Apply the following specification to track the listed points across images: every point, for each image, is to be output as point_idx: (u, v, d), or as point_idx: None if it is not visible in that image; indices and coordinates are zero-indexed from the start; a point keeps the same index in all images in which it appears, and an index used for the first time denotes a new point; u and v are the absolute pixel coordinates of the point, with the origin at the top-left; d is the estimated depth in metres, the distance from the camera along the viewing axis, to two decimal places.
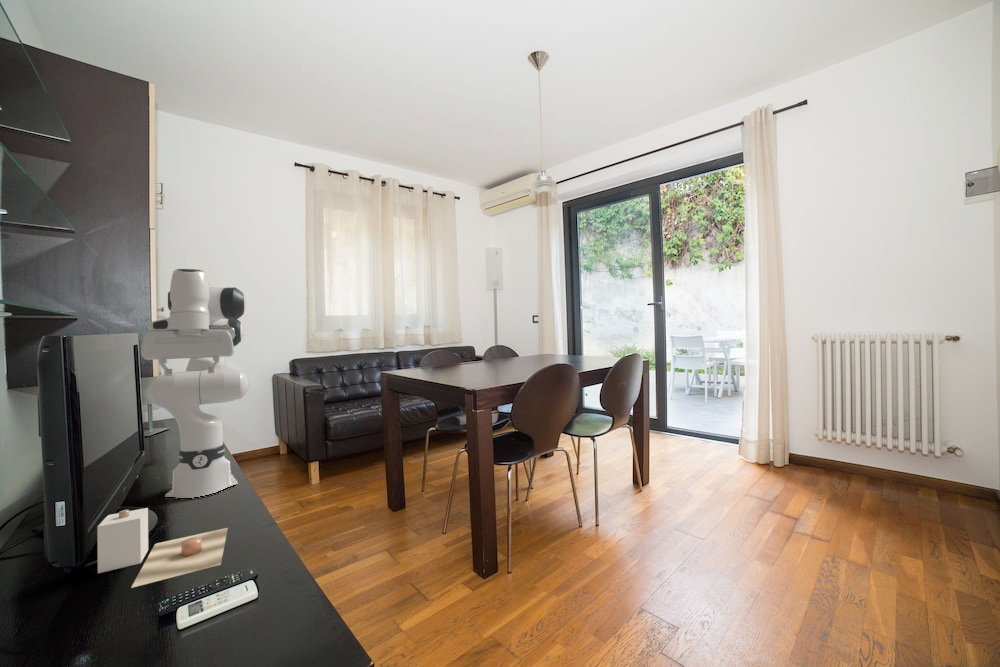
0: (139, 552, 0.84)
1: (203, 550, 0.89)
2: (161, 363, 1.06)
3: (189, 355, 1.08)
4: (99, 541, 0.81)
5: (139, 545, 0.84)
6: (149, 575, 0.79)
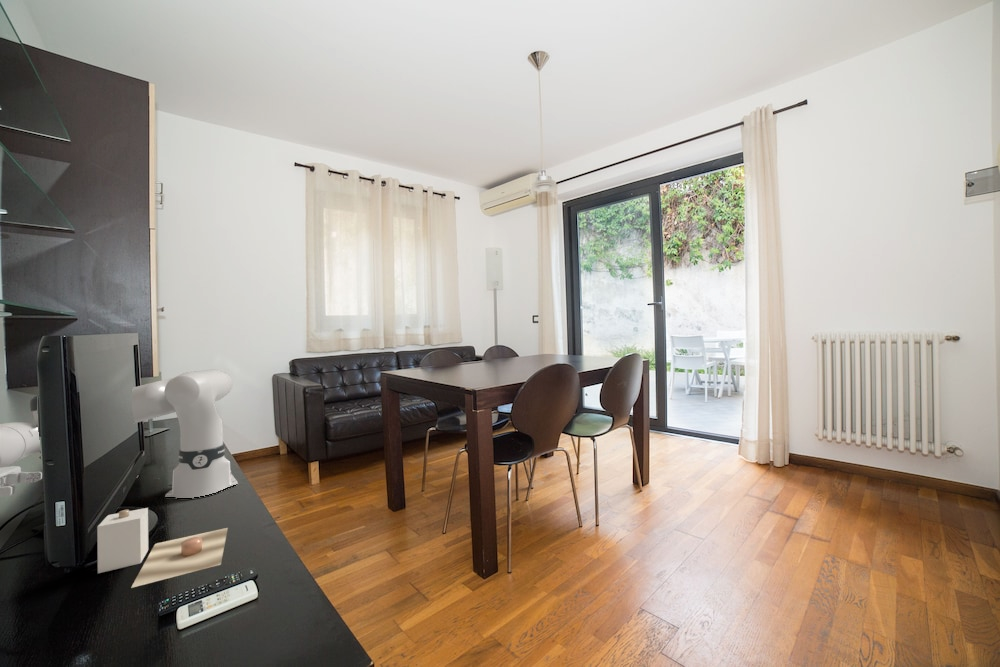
0: (139, 552, 0.84)
1: (203, 550, 0.89)
2: None
3: None
4: (99, 541, 0.81)
5: (139, 545, 0.84)
6: (149, 575, 0.79)
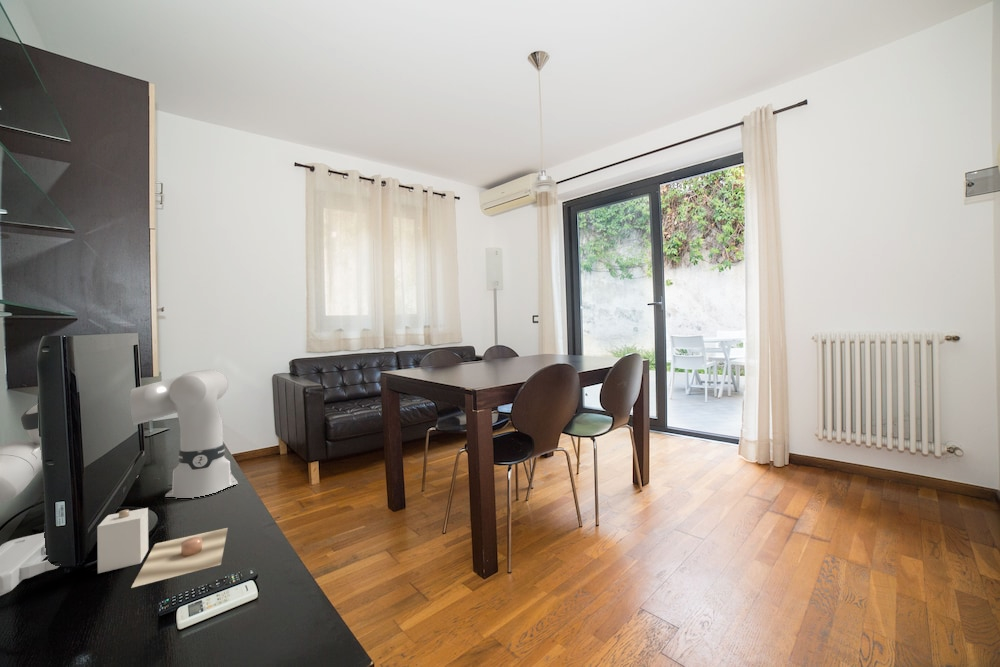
0: (139, 552, 0.84)
1: (203, 550, 0.89)
2: (32, 564, 0.74)
3: (33, 549, 0.78)
4: (99, 541, 0.81)
5: (139, 545, 0.84)
6: (149, 575, 0.79)
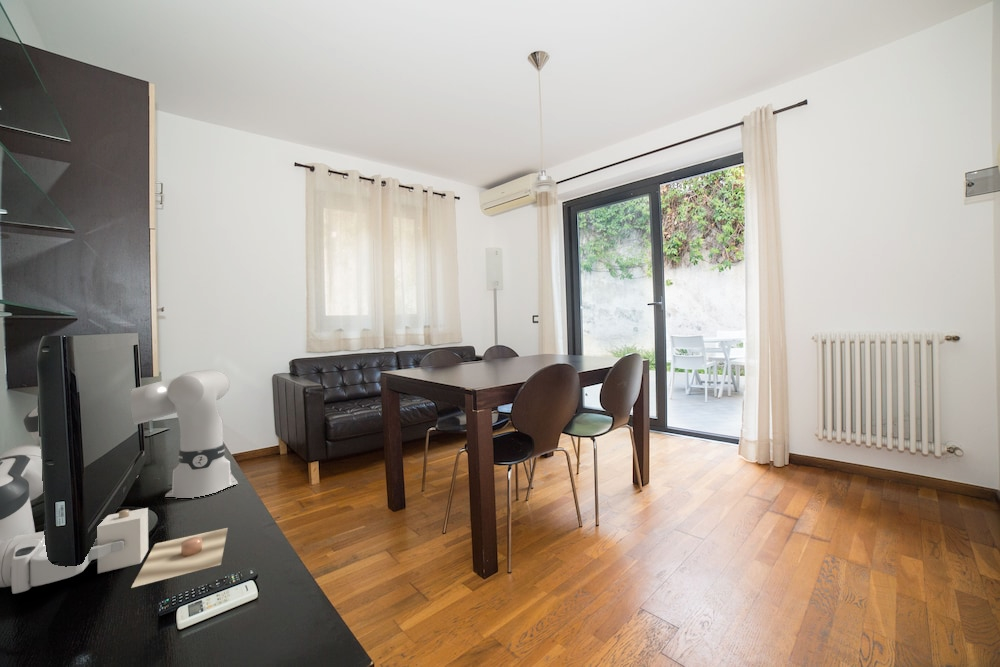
0: (139, 552, 0.84)
1: (203, 550, 0.89)
2: (100, 546, 0.80)
3: None
4: (99, 541, 0.81)
5: (139, 545, 0.84)
6: (149, 575, 0.79)
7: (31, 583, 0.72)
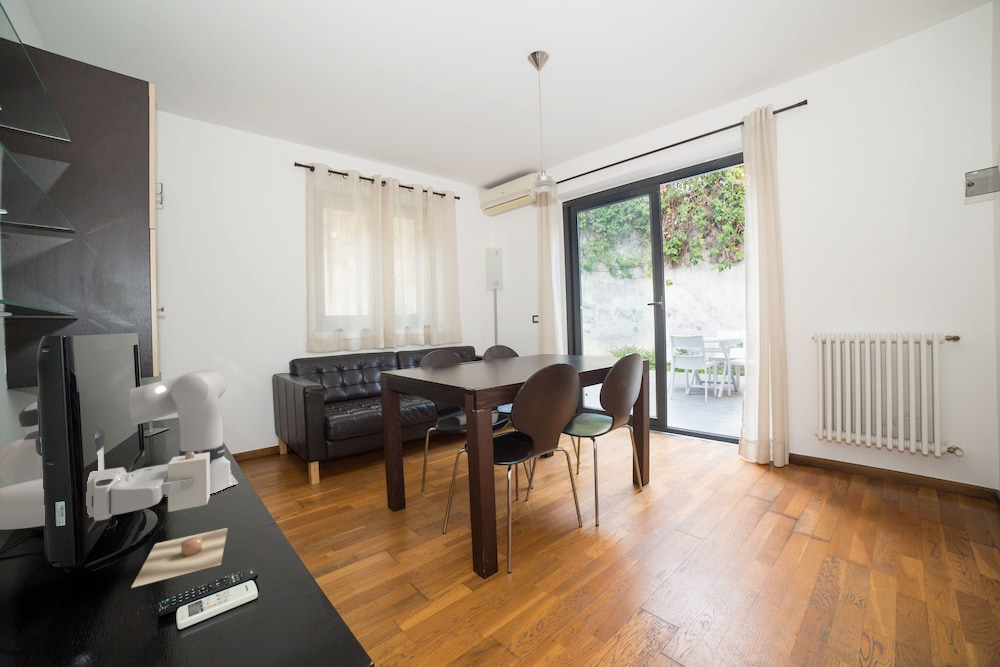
0: (205, 491, 0.87)
1: (203, 550, 0.89)
2: (171, 482, 0.82)
3: (165, 473, 0.86)
4: (169, 478, 0.84)
5: (205, 484, 0.87)
6: (149, 575, 0.79)
7: (112, 511, 0.75)
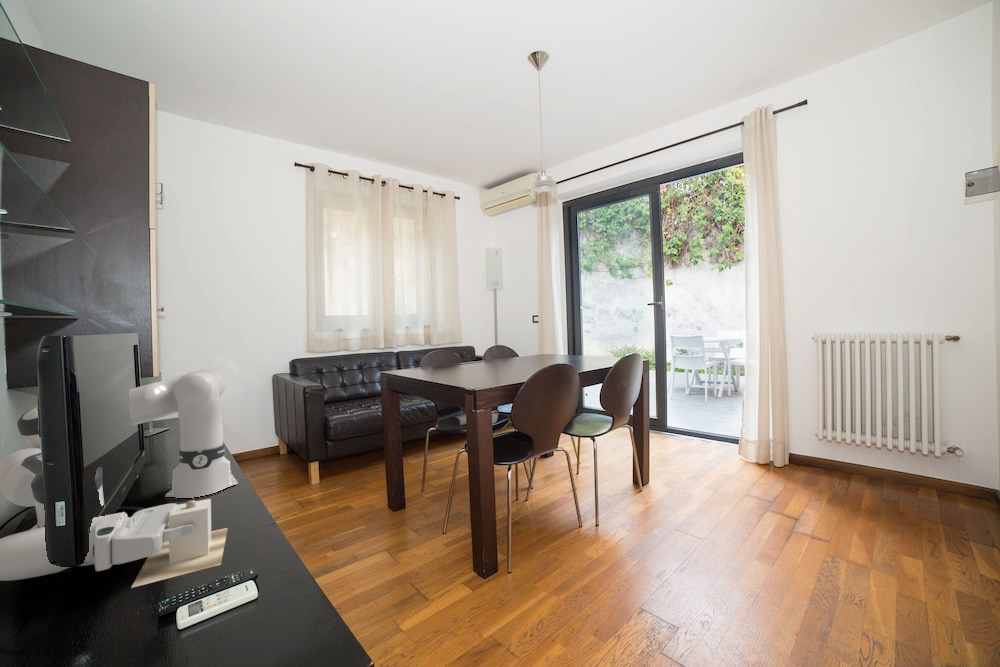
0: (206, 541, 0.87)
1: None
2: (172, 529, 0.82)
3: (166, 517, 0.86)
4: None
5: (206, 534, 0.87)
6: (149, 575, 0.79)
7: (113, 561, 0.75)
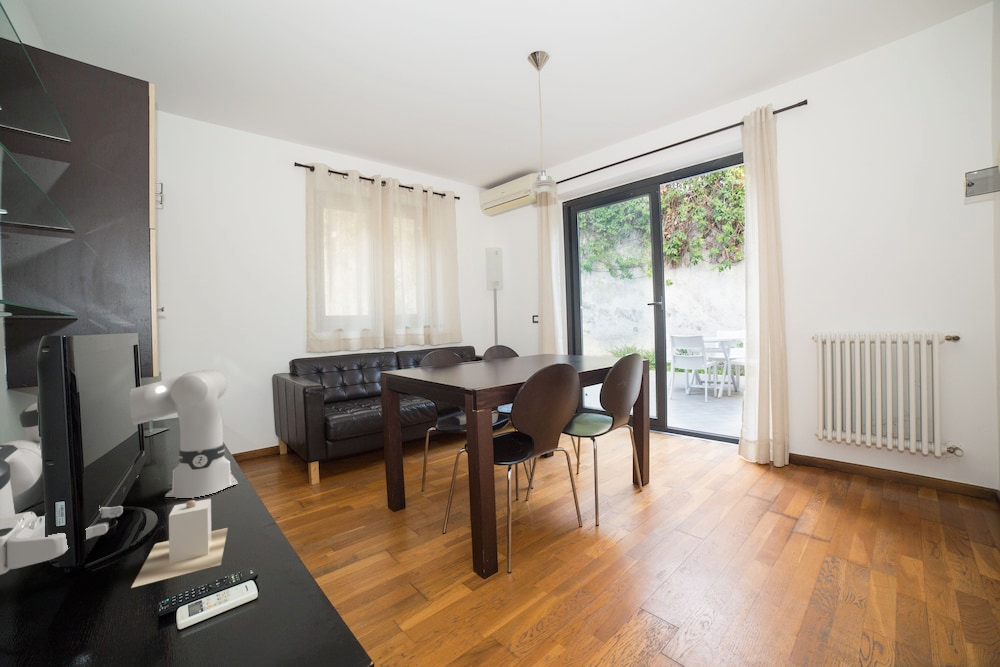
0: (206, 541, 0.87)
1: None
2: None
3: None
4: (170, 530, 0.84)
5: (206, 534, 0.87)
6: (149, 575, 0.79)
7: (8, 566, 0.68)
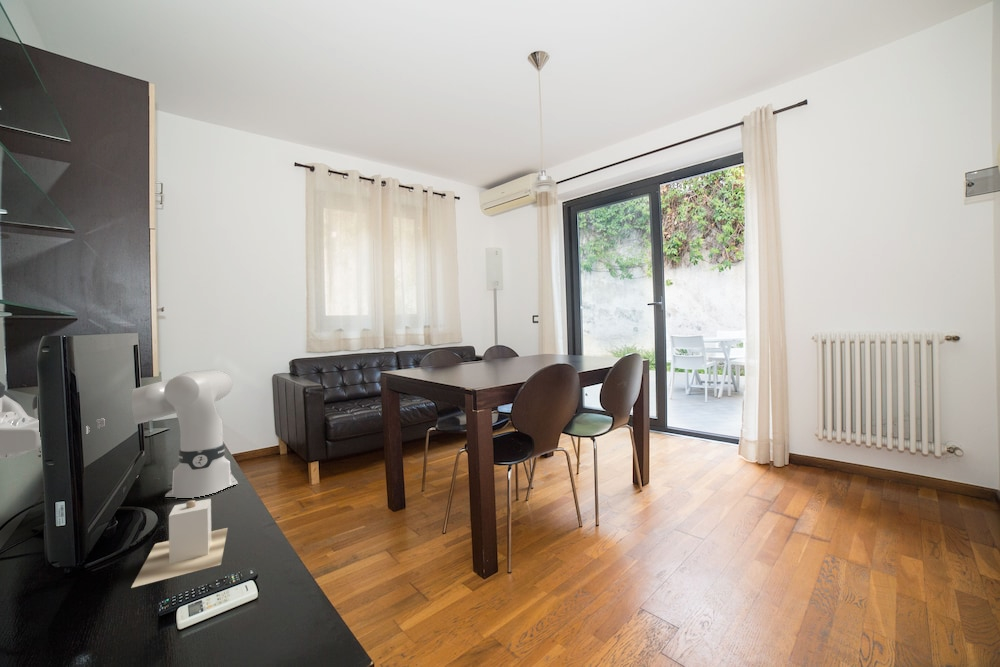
0: (206, 541, 0.87)
1: None
2: None
3: None
4: (170, 530, 0.84)
5: (206, 534, 0.87)
6: (149, 575, 0.79)
7: None
